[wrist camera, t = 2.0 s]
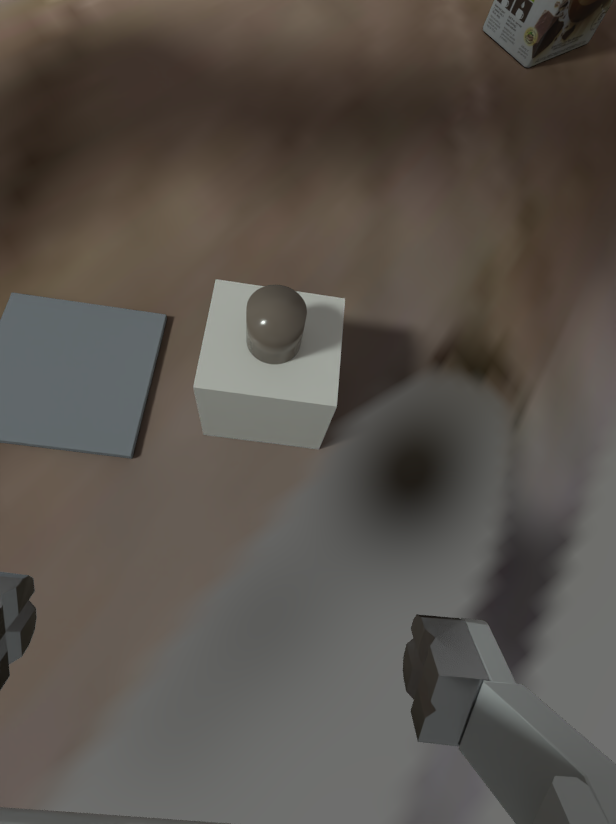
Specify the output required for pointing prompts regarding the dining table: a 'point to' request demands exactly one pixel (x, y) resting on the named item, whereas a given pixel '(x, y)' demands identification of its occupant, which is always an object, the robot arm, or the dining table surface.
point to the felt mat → (75, 374)
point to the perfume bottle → (269, 364)
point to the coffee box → (543, 26)
